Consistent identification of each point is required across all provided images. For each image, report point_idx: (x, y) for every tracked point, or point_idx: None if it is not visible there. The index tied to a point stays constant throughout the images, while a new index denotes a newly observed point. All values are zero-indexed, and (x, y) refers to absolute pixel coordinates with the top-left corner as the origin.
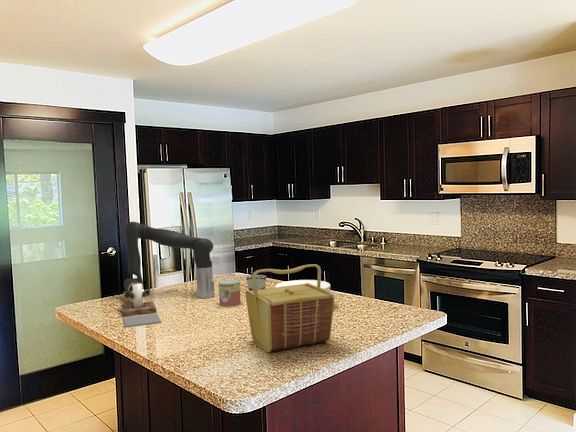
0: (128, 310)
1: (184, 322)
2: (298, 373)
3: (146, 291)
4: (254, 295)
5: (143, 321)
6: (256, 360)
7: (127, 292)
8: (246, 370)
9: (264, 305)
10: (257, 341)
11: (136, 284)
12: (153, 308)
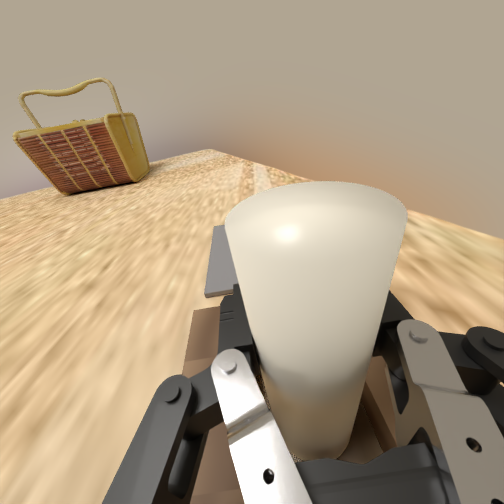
0: None
1: (165, 227)
2: (158, 161)
3: (192, 386)
4: (122, 113)
5: None
6: (167, 166)
7: (497, 342)
8: (183, 160)
9: (131, 120)
10: (138, 177)
11: (319, 204)
12: (209, 308)
